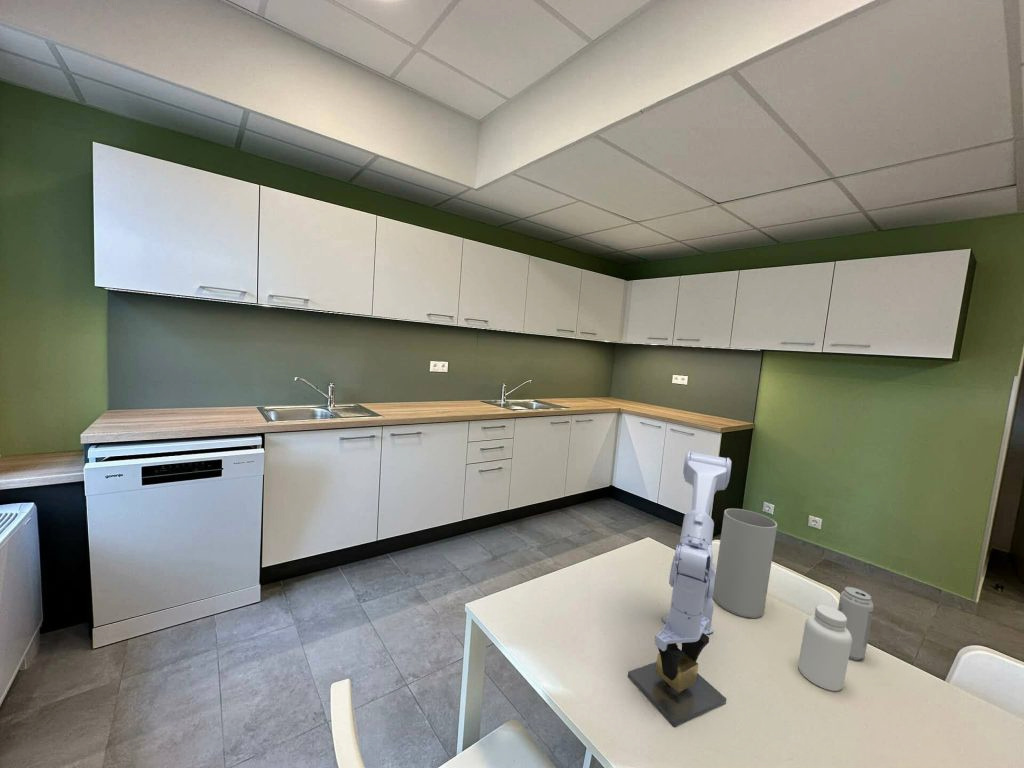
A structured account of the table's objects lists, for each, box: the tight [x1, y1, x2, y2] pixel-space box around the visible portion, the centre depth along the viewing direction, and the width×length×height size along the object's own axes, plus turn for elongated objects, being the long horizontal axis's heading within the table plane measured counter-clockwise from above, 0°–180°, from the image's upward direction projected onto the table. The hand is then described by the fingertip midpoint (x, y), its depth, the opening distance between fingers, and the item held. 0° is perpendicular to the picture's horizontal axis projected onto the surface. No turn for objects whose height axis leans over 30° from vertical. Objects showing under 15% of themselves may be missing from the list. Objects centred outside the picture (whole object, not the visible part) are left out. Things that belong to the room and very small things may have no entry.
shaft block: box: [627, 661, 727, 728], centre depth 80 cm, size 14×12×4 cm
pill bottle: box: [797, 604, 852, 692], centre depth 87 cm, size 8×8×15 cm
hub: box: [655, 653, 699, 693], centre depth 80 cm, size 5×5×4 cm
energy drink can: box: [837, 586, 874, 661], centre depth 96 cm, size 6×6×15 cm
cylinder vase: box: [712, 508, 778, 619], centre depth 111 cm, size 12×12×25 cm
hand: (677, 671), depth 80 cm, fingers closed on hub, 5 cm apart
